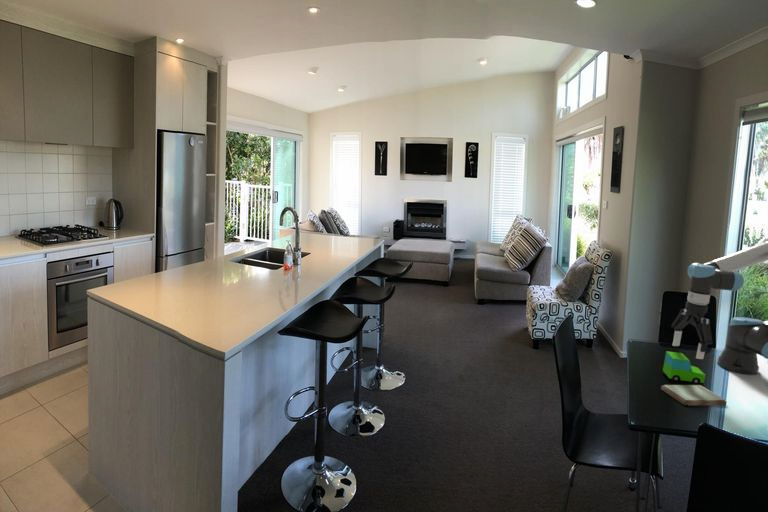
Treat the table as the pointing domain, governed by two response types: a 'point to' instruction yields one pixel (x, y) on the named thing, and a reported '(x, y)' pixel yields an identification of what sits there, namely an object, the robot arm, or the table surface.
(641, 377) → the table surface
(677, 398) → the wooden board
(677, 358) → the toy car
